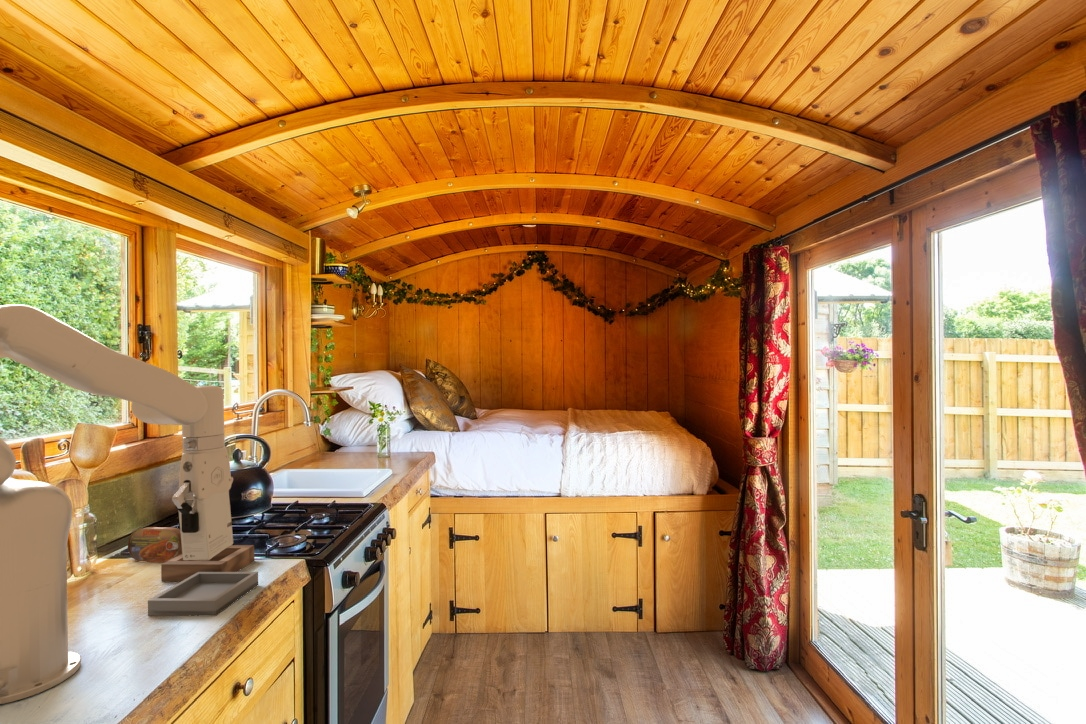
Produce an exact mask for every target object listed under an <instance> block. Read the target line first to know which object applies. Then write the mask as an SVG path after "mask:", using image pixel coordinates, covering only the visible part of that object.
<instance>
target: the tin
mask: <svg viewBox="0 0 1086 724" xmlns="http://www.w3.org/2000/svg"><path fill="white" fill-rule="evenodd" d="M127 550H128V554H129V555H130V557H131V558H132V559H133V560H135V561H136V562H139V561H147V562H146V563H165V562H167V561H169V560H171V559H173V558H175V557H177V556H179V555H181V554H182V544H181V533H180V528H177V527H169V526H167V527H163V526H162V527H160V526H159V527H157V526H153V527H152V526H147V527H144V528H139V529H136V530H134V531H133V532H132V533H131V534H130V536H129V538H128V541H127Z"/></svg>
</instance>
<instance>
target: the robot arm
mask: <svg viewBox="0 0 1086 724" xmlns="http://www.w3.org/2000/svg"><path fill="white" fill-rule="evenodd" d="M2 358H3V359H4V358H6V359H9V360H12V361H14V362H17V363H18V364H21V365H23V366H25V367H26V368H27V367H28V368H30V369H32V370H34V371H36V372H38V373H40V374H42V375H45V376H47V377H49V378H52V379H54V380H56V382H57V381H58V382H59V383H62V384H64V385H66V386H68V387H69V388H70V387H71V388H72V389H75V390H78V391H80V392H85V393H87V394H88V393H89V394H92V395H96V396H102V397H108V398H114V399H115V398H116V399H120V400H123V401H127V402H131V406H130V407H131V412H132V414H133V416H134V418H136V419H137V420H138V421H141V422H142V423H145V424H150V425H160V426H161V425H164V426H169V425H171V426H181V438H182V439H181V441H182V453H181V458H180V466H179V480H178V482H179V483H178V490H176V492H175V493H174V494H173V495H172V496H171V501H172V503H173V504H174V505H175V508H176V510H177V511H178V510H179V511H178V515H179V514H181V518H182V532H183V533H196V532H198V531H199V516H198V512H196V510H197V499H199V500H203V499H207V498H210V495H211V496H212V495H213V494H214V493H223V492H226V491H228V490H229V493H230V492H231V490H232V484H233V482H234V477H233V476H231V474H232V473H231V465H230V459H229V452H228V449H227V447H226V446H225V443H226V441H225V440H226V439H225V437H226V436H225V411H224V410H225V404H224V403H225V402H224V400H225V399H224V391H223V389H222V387H220V386H218V385H193V384H191V382H188V381H187V380H185V379H183V378H182V377H180V376H178V375H176V374H174V373H172V372H170V371H168V370H165V369H164V368H161V367H159V366H157V365H153V364H151V363H148V362H145V361H143V360H140V359H138V358H136V357H133V356H131V355H128V354H125V353H122V352H120V351H116V350H115V349H112V348H110V347H108V346H106V344H105V345H104V344H103V343H101V342H99V341H97V340H95V339H94V338H92V337H91V336H89V335H86V334H85V333H83V332H81V331H80V330H78V329H75V328H74V327H72V326H70V325H69V324H67V323H65V322H63V321H61V320H59V318H56V317H55V316H52V315H50V314H49V313H46V312H45V311H43V310H41V309H39V308H36V307H34V306H31V305H26V304H18V303H17V304H16V303H14V304H3V305H2V304H1V305H0V359H2ZM16 461H17V460H16V456H15V453H14V451H13V450H12V448H11V446H9V444H7V442H6V441H4V439H2V438H1V437H0V705H3V704H8V703H12V702H17V701H19V700H24V699H26V698H28V697H32V696H34V695H37V694H40V693H42V692H44V691H47V690H49V689H51V688H53V687H55V686H58V685H59V684H61V683H62V682H64V681H66V680H68V679H69V678H70V677H71V676H73V675H74V674H75V673H76V672H77V671H78V670H79V669H80V668H81V665H82V657H81V655H80V653H77V652H74V651H69V632H68V631H69V626H68V625H69V624H68V623H69V622H68V573H67V571H68V569H67V567H68V565H67V562H68V561H67V559H68V557H67V555H68V554H67V553H68V540H69V534H70V530H71V526H72V525H71V524H72V522H73V521H72V520H73V504H72V501H71V498H70V497H69V495H68V494H67V493H66V492H65V490H63V489H62V488H60V487H59V486H57V485H54V484H52V483H49V482H46V481H38V480H29V479H16V478H15V477H14V476H13V474H14V472H15V470H16V465H17V462H16ZM216 485H217V486H216ZM190 489H191V491H192V494H193V496H194V499H184V498H185V495H186V494H187V493H188V492H189V490H190ZM202 490H204V491H202ZM186 501H193V503H192V505H191V506H190V505H189V504H188V503H186Z"/></svg>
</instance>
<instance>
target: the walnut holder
mask: <svg viewBox="0 0 1086 724" xmlns="http://www.w3.org/2000/svg"><path fill="white" fill-rule="evenodd" d="M253 562H255V545H254V544H234V545H233V544H232V545H231V546H229V547H227V548H226V549H224V550H223V551H221V552H220V553H218V554H217V555H215V556H214V557H213V558H211V559H210V560H207V561H202V560H183V555H182V554H181V555H179V556H177V557H175V558H173V559H171V560H169V561H167V562H162V563H161V564H160V569H161V571H160V573H161V575H160V576H161V581H183V580H185V579H187V578H188V577H190V576H192V575H194V574H195V573H197V572H237V571H238V572H240V571H241V570H242V569H244V568H245V567H247V566H248V565H250V564H252V563H253ZM240 569H241V570H240ZM161 581H160V582H161Z"/></svg>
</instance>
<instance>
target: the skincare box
mask: <svg viewBox="0 0 1086 724" xmlns="http://www.w3.org/2000/svg"><path fill="white" fill-rule="evenodd" d="M216 486H217V485H216ZM202 491H204V490H202ZM184 499H194V496H193V494H192V491H191V489H190V490H189V492H188V493H187V494H186V495H185V498H184ZM186 503H188V504H189V505H190V506H191V505H192V503H193V501H186ZM177 512H179V510H178V509H177ZM196 512H198V516H199V531H198V532H196V533H183V532H182V518H181V514H179V513H178V520H179V529H180V533H181V544H182V555H183V560H202V561H207V560H210V559H211V558H213V557H214V556H215V555H217V554H218V553H220V552H221V551H223V550H224V549H226V548H227V547H229V546H231V545H233V544H234V534H233V525H232V524H233V523H232V514H231V513H232V512H231V501H230V492H229V490H228V491H226V492H223V493H214V494H213V495H212V496H211V495H210V498H207V499H203V500H199V499H197V510H196Z"/></svg>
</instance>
